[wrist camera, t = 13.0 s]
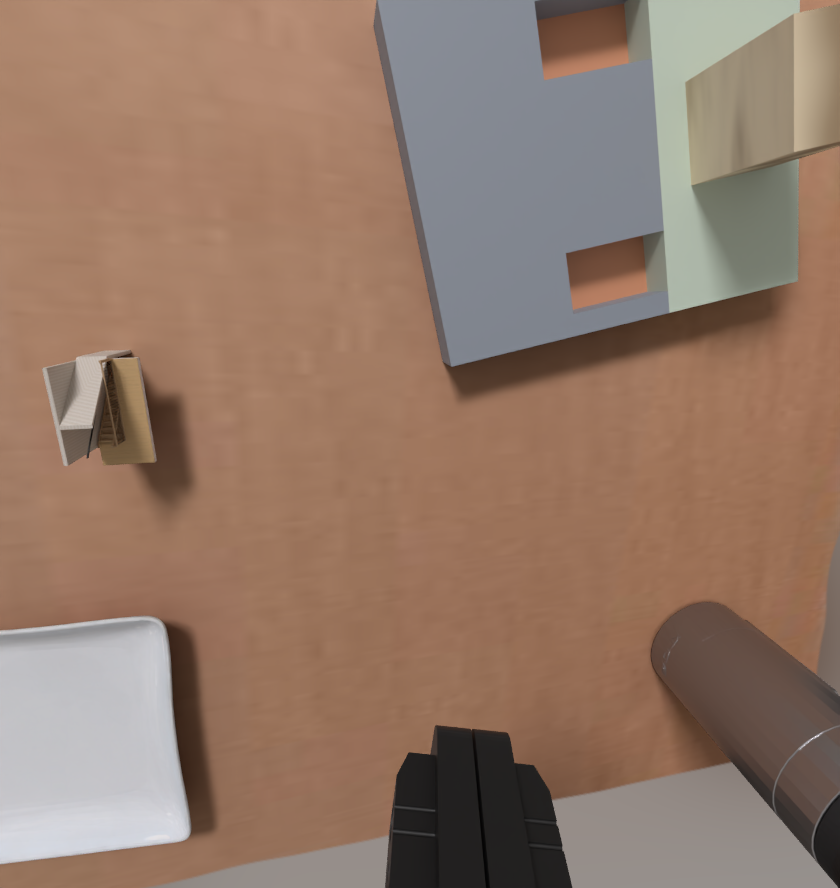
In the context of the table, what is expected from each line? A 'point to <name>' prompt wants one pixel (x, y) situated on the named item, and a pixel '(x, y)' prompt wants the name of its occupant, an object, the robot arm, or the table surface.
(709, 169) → the birch block
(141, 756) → the salad plate
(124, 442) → the architectural model
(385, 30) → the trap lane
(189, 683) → the table surface
